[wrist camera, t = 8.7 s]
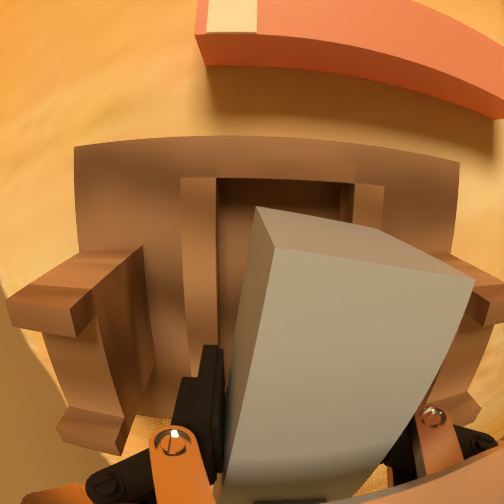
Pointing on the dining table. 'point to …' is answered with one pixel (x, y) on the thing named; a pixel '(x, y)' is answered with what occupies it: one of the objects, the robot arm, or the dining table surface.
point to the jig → (218, 263)
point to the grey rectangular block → (329, 356)
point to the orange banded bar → (359, 45)
